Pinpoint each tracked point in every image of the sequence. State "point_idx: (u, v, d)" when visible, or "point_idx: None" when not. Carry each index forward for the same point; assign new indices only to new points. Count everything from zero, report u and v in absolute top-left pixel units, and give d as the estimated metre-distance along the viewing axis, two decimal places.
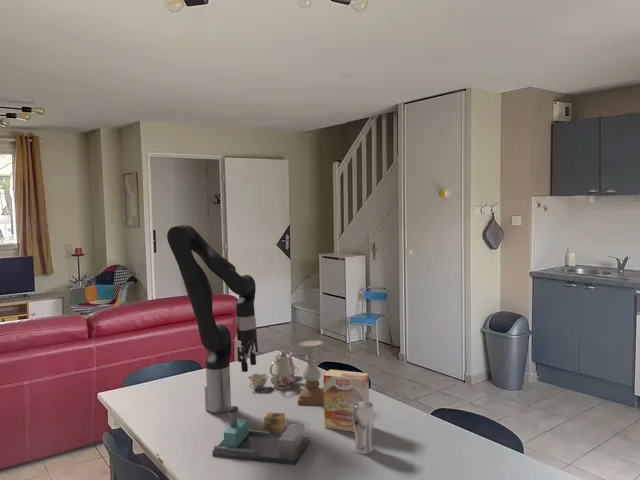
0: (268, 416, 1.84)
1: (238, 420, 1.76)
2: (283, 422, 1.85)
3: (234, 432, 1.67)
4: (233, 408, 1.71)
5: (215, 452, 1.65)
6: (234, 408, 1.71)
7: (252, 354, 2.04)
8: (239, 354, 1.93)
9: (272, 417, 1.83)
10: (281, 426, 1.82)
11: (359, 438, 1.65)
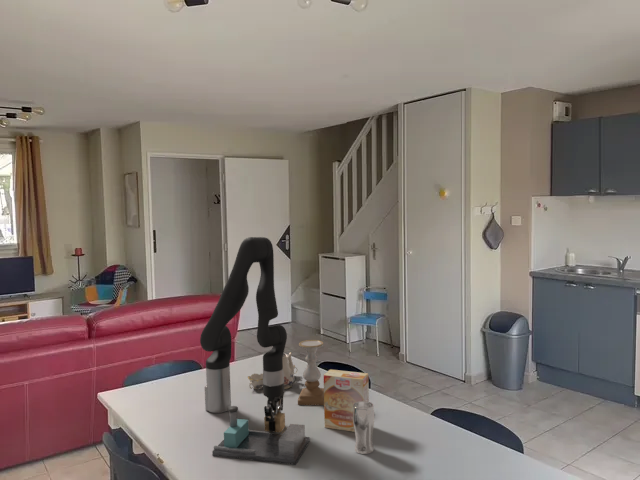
0: None
1: (238, 420, 1.76)
2: (283, 422, 1.85)
3: (234, 432, 1.67)
4: (233, 408, 1.71)
5: (215, 452, 1.65)
6: (234, 408, 1.71)
7: None
8: (266, 415, 1.78)
9: None
10: (281, 426, 1.83)
11: (359, 438, 1.65)
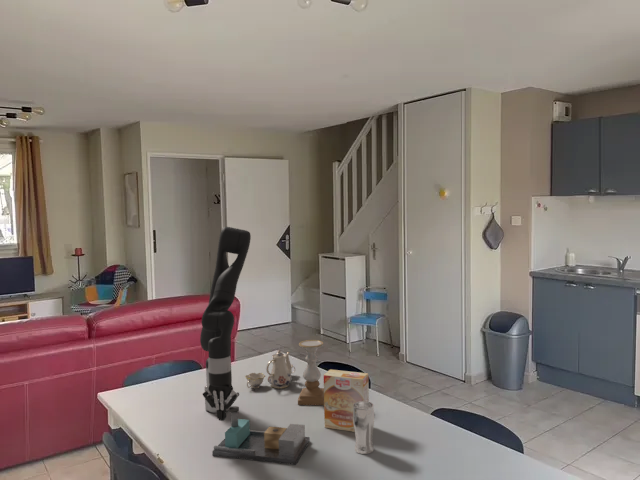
0: (269, 431, 1.68)
1: (239, 420, 1.76)
2: None
3: (235, 432, 1.67)
4: (234, 408, 1.71)
5: (215, 452, 1.65)
6: (235, 408, 1.71)
7: None
8: None
9: (273, 432, 1.67)
10: None
11: (359, 438, 1.65)
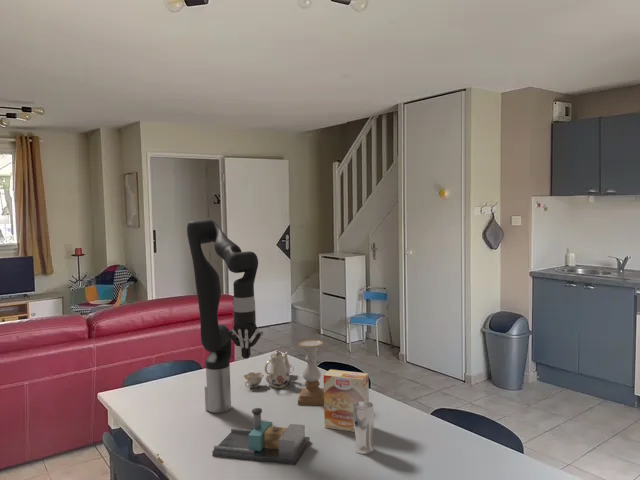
0: (269, 431, 1.68)
1: (261, 422, 1.74)
2: None
3: (259, 434, 1.65)
4: (257, 410, 1.69)
5: (215, 452, 1.65)
6: (258, 410, 1.69)
7: None
8: None
9: (273, 432, 1.67)
10: None
11: (359, 438, 1.65)
